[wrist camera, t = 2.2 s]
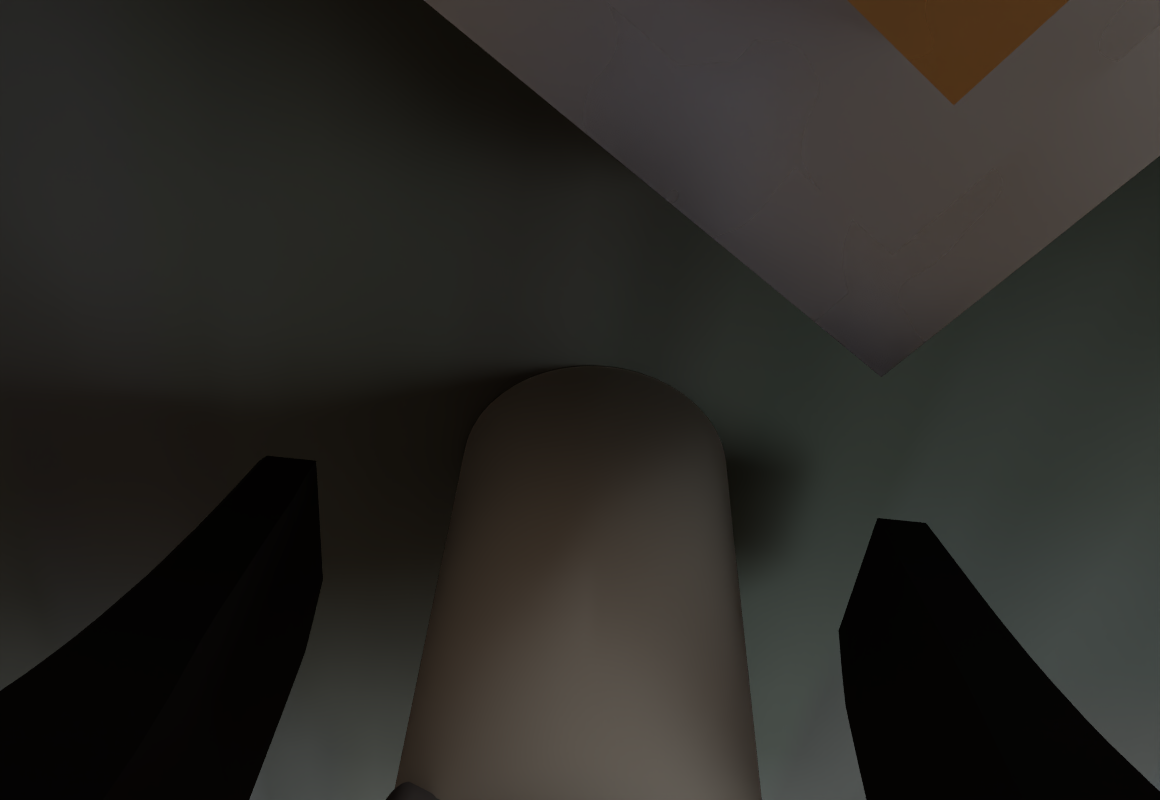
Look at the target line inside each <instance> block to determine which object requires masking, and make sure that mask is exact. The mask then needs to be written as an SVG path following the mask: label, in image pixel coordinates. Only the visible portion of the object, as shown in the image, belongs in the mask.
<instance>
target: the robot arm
mask: <svg viewBox="0 0 1160 800" xmlns="http://www.w3.org/2000/svg"><path fill="white" fill-rule="evenodd" d="M322 581H323V574H322V557H321V540H320V522H319V505H318V487H317V470H316V461H313V460H303V459H293V458H283V457H273V456H266V457H265V458H263V459H262V460H260V461H259V462H258V463H257V464H256V465H255V466H254V467H253V468H252V469H251V471H250V472H249V473H248V474H247V475H246V476H245V477H244V478H243V479H242V480H241V481H240V483H239V484H238V485H237V486H236V487H235V488H234V489H233V490H232V491H231V492H230V493H229V494H228V495H227V496H226V498H225V499H224V500H223V501H222V502H221V503H220V504H219V505H218V506H217V507H216V508H215V509H214V510H213V511H212V512H211V513H210V514H209V515H208V516H207V517H206V518H205V519H204V520H203V521H202V522H201V523H200V525H199V526H198V527H197V528H196V529H195V530H194V531H193V532H191V533H190V534H189V535H188V536H187V537H186V538H185V539H184V540H183V541H182V542H181V543H180V544H179V545H178V546H177V547H176V548H175V549H174V550H173V551H172V552H171V553H170V554H169V555H168V556H167V557H166V558H165V559H164V560H163V561H162V562H161V563H160V564H159V565H157V566H156V567H155V568H154V569H153V570H152V571H151V572H150V573H149V574H148V575H147V576H146V577H144V578H143V579H142V580H141V581H140V582H139V583H138V584H136V585H135V586H134V587H133V588H132V589H131V590H130V591H128V592H127V593H126V594H125V595H124V596H123V597H122V598H120V599H119V600H118V601H117V602H116V603H115V604H114V605H112V606H111V607H110V608H109V609H108V610H107V611H106V612H104V613H103V614H102V615H101V616H100V617H99V618H97V619H96V620H95V621H94V622H92V623H91V624H90V625H89V626H88V627H86V628H85V629H84V630H83V631H81V632H80V633H79V634H78V635H76V636H75V637H74V638H73V639H71V640H70V641H69V642H67V643H66V644H65V645H63V646H62V647H61V648H60V649H58V650H57V651H56V652H54V653H53V654H52V655H50V656H49V657H47V658H46V659H45V660H43V661H42V662H41V663H39V664H38V665H37V666H35V667H34V668H33V669H31V670H30V671H28V672H27V673H26V674H24V675H23V676H21V677H20V678H18V679H17V680H15V681H14V682H13V683H11V684H10V685H8V686H7V687H5V688H4V689H2V690H1V691H0V800H249V799H250V796H251V793H252V791H253V788H254V786H255V783H256V780H257V778H258V775H259V773H260V770H261V767H262V765H263V762H264V759H265V757H266V754H267V752H268V749H269V746H270V744H271V741H272V739H273V736H274V733H275V731H276V728H277V725H278V723H279V720H280V718H281V715H282V712H283V710H284V707H285V704H286V702H287V699H288V696H289V694H290V691H291V689H292V686H293V683H294V681H295V678H296V675H297V673H298V670H299V667H300V664H301V662H302V659H303V656H304V654H305V650H306V646H307V642H308V638H309V634H310V630H311V627H312V623H313V619H314V614H315V610H316V606H317V602H318V597H319V593H320V589H321V585H322ZM839 640H840V653H841V665H842V676H843V686H844V695H845V704H846V710H847V714H848V719H849V724H850V728H851V733H852V737H853V742H854V746H855V751H856V755H857V760H858V764H859V769H860V773H861V778H862V782H863V786H864V791H865V795H866V799H867V800H1160V791H1159V790H1158V789H1157V788H1155V787H1154V786H1153V785H1152V784H1151V783H1150V782H1149V781H1148V780H1147V779H1146V778H1145V777H1144V776H1143V775H1142V774H1141V773H1140V772H1139V771H1138V770H1137V769H1136V768H1134V767H1133V766H1132V765H1131V764H1130V763H1129V762H1128V761H1127V760H1126V759H1125V758H1124V757H1123V756H1122V755H1121V754H1120V753H1119V752H1118V751H1117V750H1116V749H1115V748H1114V747H1113V746H1112V745H1111V744H1109V742H1108V741H1107V740H1106V739H1105V738H1104V737H1103V736H1102V735H1101V734H1100V733H1099V732H1098V731H1097V730H1096V729H1095V728H1094V727H1093V726H1092V725H1091V724H1090V723H1089V722H1088V721H1087V720H1086V719H1085V718H1084V717H1083V715H1082V714H1081V713H1080V712H1079V711H1078V710H1077V709H1076V708H1075V707H1074V706H1073V705H1072V703H1071V702H1070V701H1069V700H1068V699H1067V698H1066V697H1065V696H1064V695H1063V694H1062V692H1061V691H1060V690H1059V689H1058V688H1057V687H1056V686H1055V685H1054V684H1053V683H1052V681H1051V680H1050V679H1049V678H1048V677H1047V676H1046V675H1045V673H1044V672H1043V671H1042V670H1041V669H1040V668H1039V666H1038V665H1037V664H1036V663H1035V662H1034V661H1033V659H1032V658H1031V657H1030V656H1029V655H1028V653H1027V652H1026V651H1025V650H1024V649H1023V647H1022V646H1021V645H1020V644H1019V642H1018V641H1017V640H1016V639H1015V638H1014V636H1013V635H1012V634H1011V633H1010V631H1009V630H1008V629H1007V628H1006V627H1005V625H1004V624H1003V623H1002V622H1001V620H1000V619H999V618H998V617H997V615H996V614H995V613H994V611H993V610H992V609H991V608H990V606H989V605H988V604H987V602H986V601H985V600H984V599H983V597H982V596H981V595H980V593H979V592H978V591H977V589H976V588H975V587H974V585H973V584H972V583H971V582H970V580H969V579H968V578H967V576H966V575H965V574H964V572H963V571H962V570H961V568H960V567H959V566H958V564H957V563H956V562H955V560H954V559H953V558H952V557H951V555H950V554H949V553H948V551H947V550H946V549H945V547H944V546H943V545H942V543H941V542H940V541H939V539H938V538H937V537H936V535H935V534H934V533H933V531H932V530H931V529H930V528H929V526H928V525H927V524H926V523H921V522H911V521H901V520H891V519H882V518H877V521H876V524H875V527H874V530H873V533H872V536H871V539H870V541H869V544H868V547H867V550H866V553H865V556H864V559H863V562H862V565H861V567H860V570H859V573H858V576H857V579H856V582H855V585H854V588H853V591H852V594H851V596H850V599H849V602H848V605H847V608H846V611H845V614H844V617H843V620H842V623H841V625H840V628H839Z"/></svg>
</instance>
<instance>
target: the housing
mask: <svg viewBox="0 0 1160 800" xmlns="http://www.w3.org/2000/svg"><path fill="white" fill-rule="evenodd" d="M424 1H425V2H426V3H428V4H429V5H430V6H431V7H433V8H434V9H435V10H436V11H437V12H439V13H440V14H441V15H442V16H443V17H445V18H446V19H447V20H448V21H450V22H451V23H452V24H453V25H454V26H456V27H457V28H458V29H459V30H460V31H462V32H463V33H464V34H465V35H467V36H468V37H469V38H470V39H471V40H473V41H474V42H475V43H476V44H477V45H479V46H480V47H481V48H482V49H484V50H485V51H486V52H487V53H488V54H490V55H491V56H492V57H493V58H494V59H496V60H497V61H498V62H499V63H501V64H502V65H503V66H504V67H505V68H507V69H508V70H509V71H510V72H511V73H513V74H514V75H515V76H516V77H518V78H519V79H520V80H521V81H522V82H524V83H525V84H526V85H527V86H529V87H530V88H531V89H532V90H533V91H535V92H536V93H537V94H538V95H539V96H541V97H542V98H543V99H544V100H546V101H547V102H548V103H549V104H550V105H552V106H553V107H554V108H555V109H556V110H558V111H559V112H560V113H561V114H563V115H564V116H565V117H566V118H567V119H569V120H570V121H571V122H572V123H573V124H575V125H576V126H577V127H578V128H580V129H581V130H582V131H583V132H584V133H586V134H587V135H588V136H589V137H590V138H592V139H593V140H594V141H595V142H597V143H598V144H599V145H600V146H601V147H603V148H604V149H605V150H606V151H607V152H609V153H610V154H611V155H612V156H614V157H615V158H616V159H617V160H618V161H620V162H621V163H622V164H623V165H624V166H626V167H627V168H628V169H629V170H631V171H632V172H633V173H634V174H635V175H637V176H638V177H639V178H640V179H642V180H643V181H644V182H645V183H646V184H648V185H649V186H650V187H651V188H652V189H654V190H655V191H656V192H657V193H659V194H660V195H661V196H662V197H663V198H665V199H666V200H667V201H668V202H669V203H671V204H672V205H673V206H674V207H676V208H677V209H678V210H679V211H680V212H682V213H683V214H684V215H685V216H686V217H688V218H689V219H690V220H691V221H693V222H694V223H695V224H696V225H697V226H699V227H700V228H701V229H702V230H703V231H705V232H706V233H707V234H708V235H710V236H711V237H712V238H713V239H714V240H716V241H717V242H718V243H719V244H720V245H722V246H723V247H724V248H725V249H727V250H728V251H729V252H730V253H731V254H733V255H734V256H735V257H736V258H737V259H739V260H740V261H741V262H742V263H744V264H745V265H746V266H747V267H748V268H750V269H751V270H752V271H753V272H755V273H756V274H757V275H758V276H759V277H761V278H762V279H763V280H764V281H765V282H767V283H768V284H769V285H770V286H772V287H773V288H774V289H775V290H776V291H778V292H779V293H780V294H781V295H782V296H784V297H785V298H786V299H787V300H789V301H790V302H791V303H792V304H793V305H795V306H796V307H797V308H798V309H799V310H801V311H802V312H803V313H804V314H806V315H807V316H808V317H809V318H810V319H812V320H813V321H814V322H815V323H816V324H818V325H819V326H820V327H821V328H823V329H824V330H825V331H826V332H827V333H829V334H830V335H831V336H832V337H833V338H835V339H836V340H837V341H838V342H840V343H841V344H842V345H843V346H844V347H846V348H847V349H848V350H849V351H850V352H852V353H853V354H854V355H855V356H857V357H858V358H859V359H860V360H861V361H863V362H864V363H865V364H866V365H868V366H869V367H870V368H871V369H872V370H874V371H875V372H876V373H877V374H878V375H880V376H881V377H882V376H883V375H885V374H886V373H887V372H888V371H890V370H891V369H892V368H893V367H895V366H896V365H897V364H898V363H900V362H901V361H902V360H903V359H905V358H906V357H907V356H909V355H910V354H911V353H912V352H914V351H915V350H916V349H917V348H919V347H920V346H921V345H922V344H924V343H925V342H926V341H927V340H929V339H930V338H931V337H932V336H934V335H935V334H936V333H937V332H939V331H940V330H941V329H942V328H944V327H945V326H946V325H947V324H949V323H950V322H951V321H953V320H954V319H955V318H956V317H958V316H959V315H960V314H961V313H963V312H964V311H965V310H966V309H968V308H969V307H970V306H971V305H973V304H974V303H975V302H976V301H978V300H979V299H980V298H981V297H983V296H984V295H985V294H986V293H988V292H989V291H990V290H991V289H993V288H994V287H995V286H997V285H998V284H999V283H1000V282H1002V281H1003V280H1004V279H1005V278H1007V277H1008V276H1009V275H1010V274H1012V273H1013V272H1014V271H1015V270H1017V269H1018V268H1019V267H1020V266H1022V265H1023V264H1024V263H1025V262H1027V261H1028V260H1029V259H1030V258H1032V257H1033V256H1034V255H1035V254H1037V253H1038V252H1039V251H1041V250H1042V249H1043V248H1044V247H1046V246H1047V245H1048V244H1049V243H1051V242H1052V241H1053V240H1054V239H1056V238H1057V237H1058V236H1059V235H1061V234H1062V233H1063V232H1064V231H1066V230H1067V229H1068V228H1069V227H1071V226H1072V225H1073V224H1074V223H1076V222H1077V221H1078V220H1080V219H1081V218H1082V217H1083V216H1085V215H1086V214H1087V213H1088V212H1090V211H1091V210H1092V209H1093V208H1095V207H1096V206H1097V205H1098V204H1100V203H1101V202H1102V201H1103V200H1105V199H1106V198H1107V197H1108V196H1110V195H1111V194H1112V193H1113V192H1115V191H1116V190H1117V189H1118V188H1120V187H1121V186H1122V185H1124V184H1125V183H1126V182H1127V181H1129V180H1130V179H1131V178H1132V177H1134V176H1135V175H1136V174H1137V173H1139V172H1140V171H1141V170H1142V169H1144V168H1145V167H1146V166H1147V165H1149V164H1150V163H1151V162H1152V161H1154V160H1155V159H1156V158H1157V157H1159V156H1160V0H424Z"/></svg>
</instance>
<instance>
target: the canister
mask: <svg viewBox="0 0 1160 800" xmlns="http://www.w3.org/2000/svg"><path fill="white" fill-rule="evenodd" d="M386 800H762V798H761V789H760V779H759V770H758V760H757V751H756V742H755V732H754V723H753V713H752V704H751V694H750V685H749V675H748V666H747V656H746V647H745V637H744V628H743V619H742V609H741V600H740V590H739V581H738V571H737V562H736V552H735V543H734V533H733V524H732V514H731V505H730V496H729V486H728V477H727V467H726V458H725V453H724V449H723V446H722V442H721V440H720V438H719V436H718V434H717V431H716V429H715V428H714V426H713V425H712V423H711V422H710V420H709V419H708V417H707V416H706V415H705V414H704V413H703V412H702V411H701V409H700V408H699V407H698V406H697V405H696V404H695V403H693V402H692V401H691V400H690V399H689V398H688V397H686V396H685V395H684V394H682V393H681V392H679V391H678V390H676V389H675V388H673V387H671V386H670V385H668V384H666V383H664V382H662V381H659V380H657V379H655V378H653V377H650V376H647V375H644V374H641V373H638V372H634V371H630V370H626V369H621V368H614V367H605V366H578V367H568V368H562V369H557V370H553V371H548V372H545V373H542V374H539V375H536V376H533V377H530V378H528V379H526V380H524V381H522V382H520V383H518V384H516V385H514V386H513V387H511V388H510V389H508V390H507V391H505V392H504V393H502V394H501V395H500V396H498V397H497V398H496V399H495V400H494V401H493V402H492V403H490V404H489V406H488V407H487V408H486V409H485V410H484V411H483V412H482V414H481V415H480V416H479V418H478V419H477V421H476V423H475V424H474V426H473V427H472V430H471V432H470V434H469V437H468V439H467V442H466V447H465V451H464V455H463V460H462V465H461V470H460V475H459V479H458V484H457V489H456V494H455V499H454V504H453V509H452V513H451V518H450V523H449V528H448V533H447V538H446V543H445V547H444V552H443V557H442V562H441V567H440V572H439V576H438V581H437V586H436V591H435V596H434V601H433V606H432V610H431V615H430V620H429V625H428V630H427V635H426V640H425V644H424V649H423V654H422V659H421V664H420V669H419V674H418V678H417V683H416V688H415V693H414V698H413V703H412V707H411V712H410V717H409V722H408V727H407V732H406V737H405V741H404V746H403V751H402V756H401V761H400V766H399V771H398V775H397V780H396V785H395V789H394V790H393V791H392V792H391V794H390V795H389V796H388V797H387V799H386Z"/></svg>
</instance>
